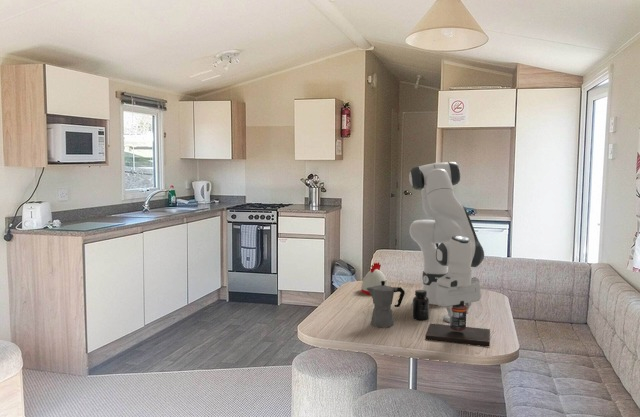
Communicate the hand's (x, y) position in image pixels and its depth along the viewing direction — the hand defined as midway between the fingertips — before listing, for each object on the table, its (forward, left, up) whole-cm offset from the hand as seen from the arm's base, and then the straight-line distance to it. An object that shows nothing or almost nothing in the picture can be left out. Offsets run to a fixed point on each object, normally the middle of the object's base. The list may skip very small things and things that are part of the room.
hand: (458, 315), depth 204 cm
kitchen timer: (-14, -73, -9) cm, 75 cm away
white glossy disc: (-14, -17, -8) cm, 24 cm away
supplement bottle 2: (0, 0, -6) cm, 6 cm away
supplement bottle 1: (-3, -25, -9) cm, 27 cm away
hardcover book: (0, 0, -9) cm, 9 cm away
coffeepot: (+15, -26, -9) cm, 31 cm away
